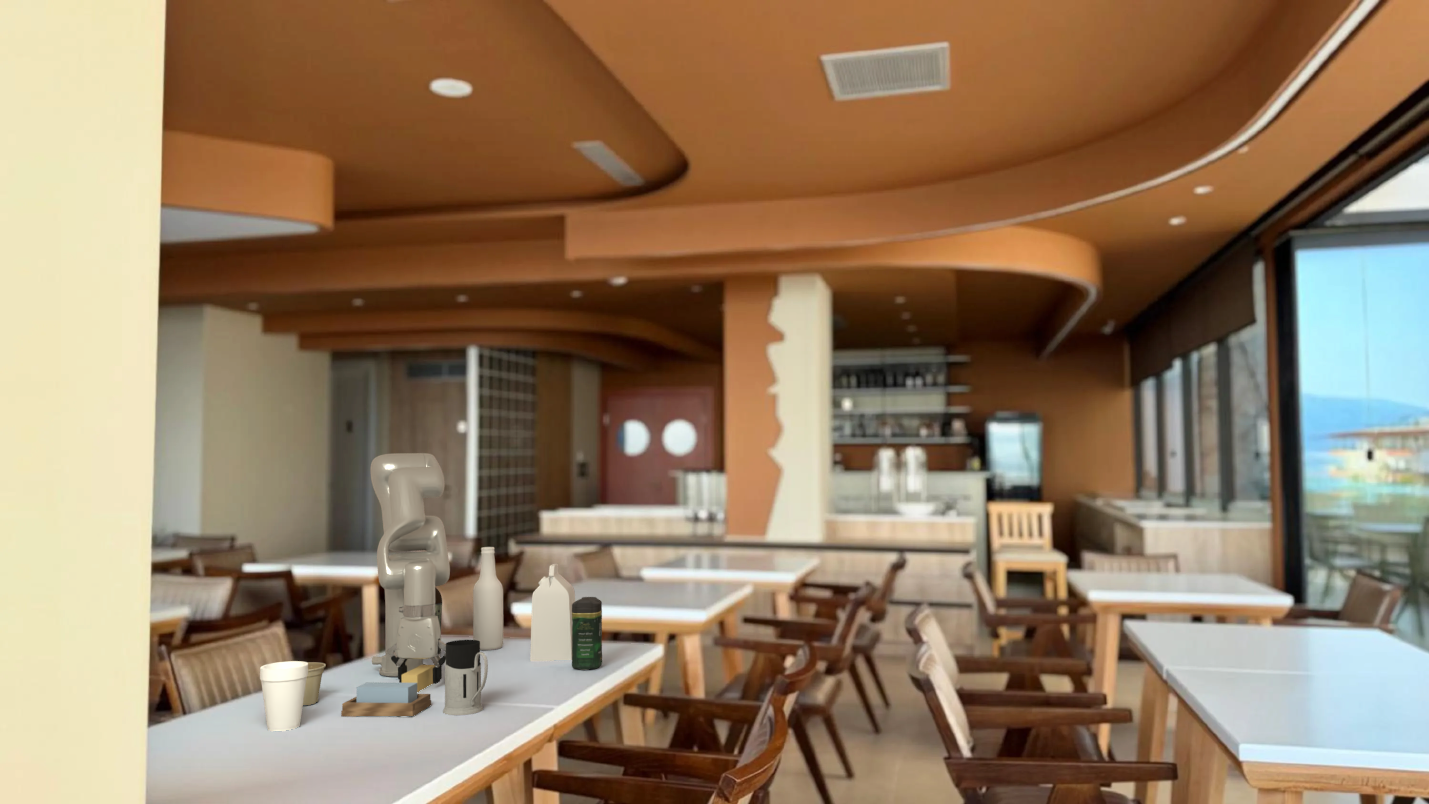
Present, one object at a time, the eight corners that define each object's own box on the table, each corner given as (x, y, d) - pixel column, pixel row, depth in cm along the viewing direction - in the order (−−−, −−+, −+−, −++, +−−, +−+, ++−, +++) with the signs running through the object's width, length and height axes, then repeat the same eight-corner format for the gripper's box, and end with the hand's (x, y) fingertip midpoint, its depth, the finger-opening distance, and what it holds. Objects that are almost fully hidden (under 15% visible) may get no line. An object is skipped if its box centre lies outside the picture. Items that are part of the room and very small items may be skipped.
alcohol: (468, 650, 298) (468, 548, 300) (480, 645, 307) (479, 546, 309) (496, 650, 297) (496, 548, 298) (507, 645, 305) (507, 546, 307)
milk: (571, 660, 280) (570, 566, 282) (530, 661, 280) (529, 567, 282) (577, 652, 292) (577, 562, 294) (538, 653, 292) (537, 562, 294)
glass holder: (470, 703, 231) (469, 637, 232) (504, 713, 221) (503, 644, 222) (435, 710, 225) (435, 642, 226) (469, 721, 215) (468, 650, 216)
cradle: (341, 716, 222) (341, 703, 222) (363, 704, 232) (363, 692, 232) (412, 717, 220) (412, 704, 220) (431, 705, 230) (431, 693, 230)
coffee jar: (599, 670, 266) (598, 599, 267) (569, 670, 266) (568, 600, 267) (605, 663, 275) (604, 594, 277) (576, 663, 276) (575, 595, 277)
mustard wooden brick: (401, 693, 244) (401, 674, 244) (421, 682, 256) (421, 664, 256) (417, 693, 244) (417, 674, 244) (436, 682, 256) (436, 664, 256)
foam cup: (317, 723, 216) (317, 662, 217) (286, 735, 207) (286, 670, 208) (281, 720, 219) (282, 660, 220) (249, 731, 210) (250, 668, 211)
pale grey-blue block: (356, 707, 224) (356, 687, 225) (366, 702, 229) (366, 682, 230) (408, 708, 223) (408, 687, 223) (417, 702, 228) (417, 682, 228)
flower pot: (334, 700, 237) (334, 663, 237) (302, 710, 228) (303, 671, 229) (305, 697, 241) (305, 660, 241) (272, 706, 232) (273, 668, 233)
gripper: (379, 613, 248) (379, 685, 247) (447, 613, 247) (447, 686, 245) (392, 609, 256) (392, 679, 255) (458, 609, 254) (459, 679, 253)
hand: (419, 682), depth 250 cm, fingers open, 8 cm apart
